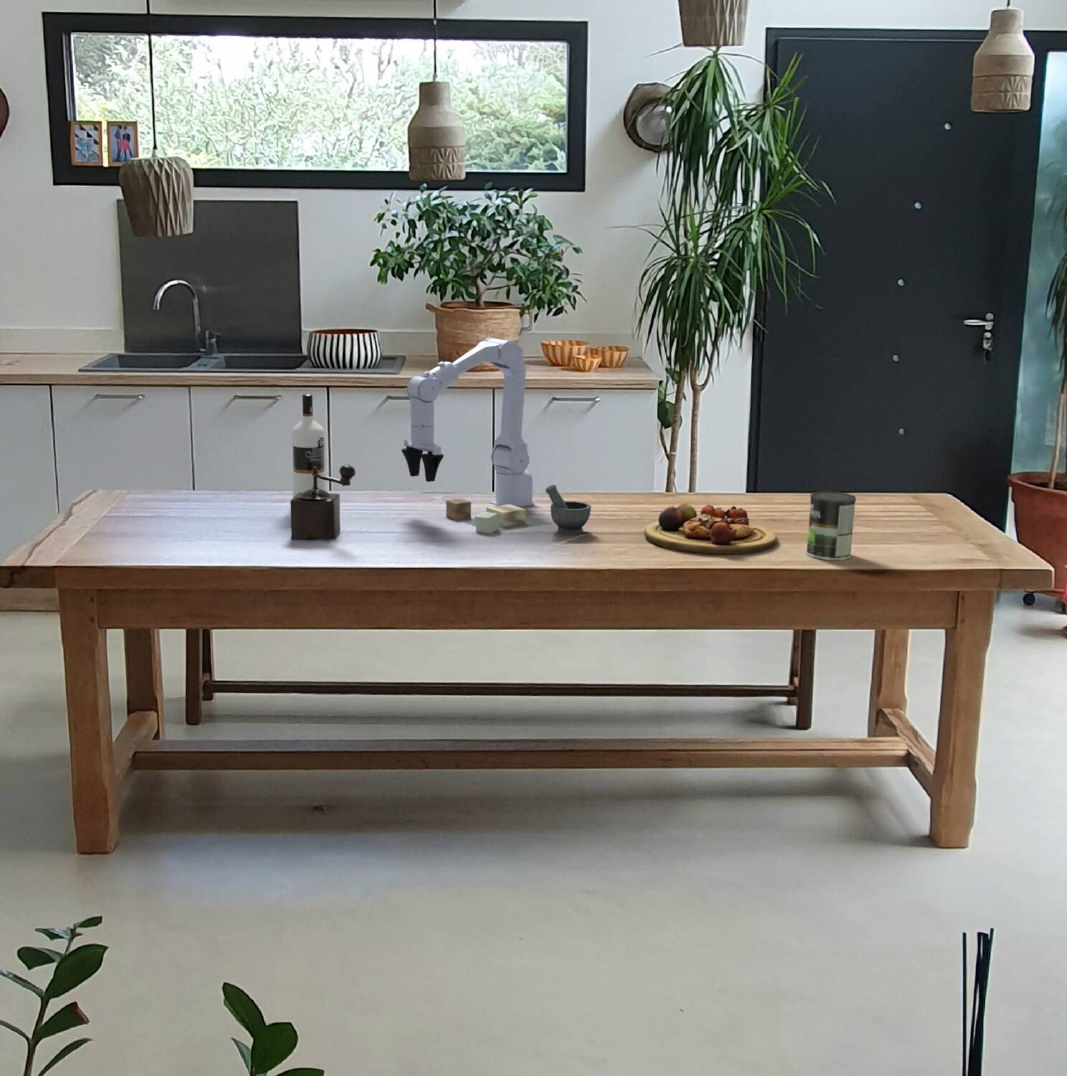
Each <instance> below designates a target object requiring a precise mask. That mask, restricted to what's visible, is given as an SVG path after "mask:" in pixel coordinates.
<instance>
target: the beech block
mask: <svg viewBox="0 0 1067 1076" xmlns="http://www.w3.org/2000/svg"><path fill="white" fill-rule="evenodd" d="M486 512H490V513H498V522H499V525H500V526H502V527H503V526H510V525H517V524H523V523H526V515H527V509H526V508H522V507H521V506H518V507H517V506H514V505H510V504H508V505H500V506H497V505H493V506H488V507H486Z"/></svg>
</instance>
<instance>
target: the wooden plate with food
mask: <svg viewBox="0 0 1067 1076" xmlns="http://www.w3.org/2000/svg"><path fill="white" fill-rule="evenodd" d="M643 533H644V534H643V535H644V537H645V538H646V539H647V540H648V541H649V542H651V543H652V544H656V545H659V546H662V547H665V548H669V549H673V550H679V551H684V552H690V553H691V552H692V553H699V554H700V553H701V554H715V555H716V554H719V555H720V554H721V555H722V554H723V555H732V554H739V555H741V554H751V553H757V552H763V551H765V550H768V549H771V548H773V547H775V545H776V544H777V541H778V538H777V535H776V534H775V532H774V531H772V530H771V529H769V528H766V527H764V526H760V525H757V524H753V523H751V522H750V519H749V518H748V512H747V510H746V509H743V508H742V507H741V508H737V506H735V505H733V506H731V507H730V509H729V508H728V509H727V510H726V511H725V510H723V509H722V507H717V508H716V507H715V508H714V506H713V505H710V504H708V505H705V506H703V507H702V508H701V510H700V515H698V512H697V511H696V509H695V507H693V506H692V505H690V504H689V503H688V502H684V503H682V504H680V505H678V506H677V507H675V506H674V505H670V506H668V507H667V508H664V510H662V511H661V512H660V514H659V516H658V521H655V522H652V523H650V524H647V526H646V527H645V528H644V532H643Z"/></svg>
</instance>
